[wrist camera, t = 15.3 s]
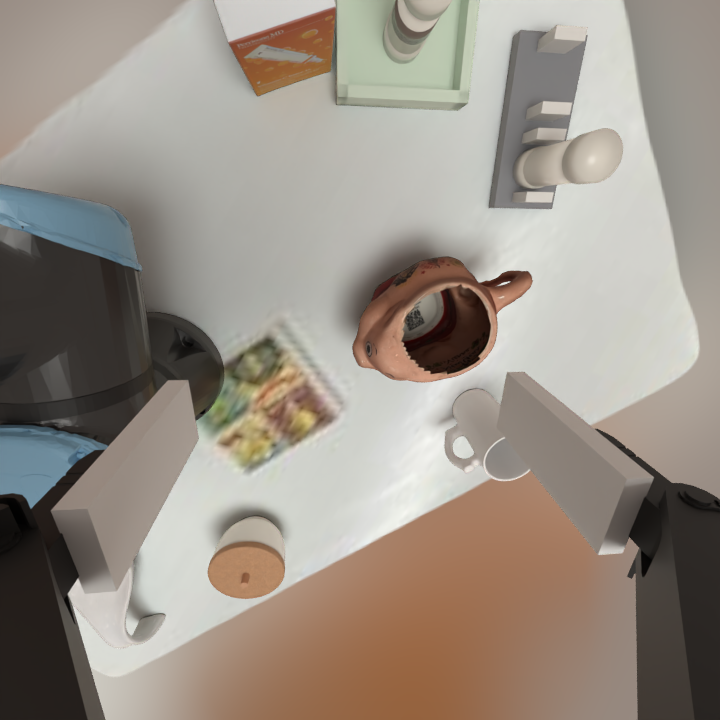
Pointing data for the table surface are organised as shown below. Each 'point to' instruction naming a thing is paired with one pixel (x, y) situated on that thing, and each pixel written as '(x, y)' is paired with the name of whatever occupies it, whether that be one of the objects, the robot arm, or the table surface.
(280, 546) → the lidded jar
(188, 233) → the table surface
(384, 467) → the table surface
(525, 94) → the holder
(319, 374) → the table surface
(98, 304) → the robot arm
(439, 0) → the light bulb
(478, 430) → the mug
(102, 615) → the grey curved piece
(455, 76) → the parts tray
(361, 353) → the decorative planter
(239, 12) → the small box
